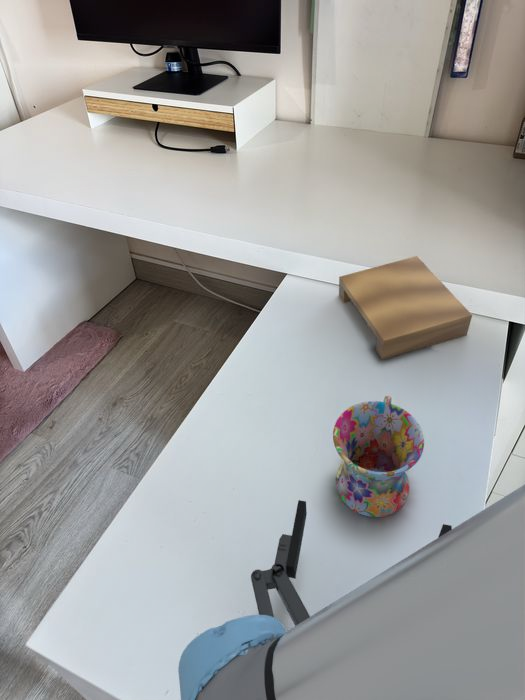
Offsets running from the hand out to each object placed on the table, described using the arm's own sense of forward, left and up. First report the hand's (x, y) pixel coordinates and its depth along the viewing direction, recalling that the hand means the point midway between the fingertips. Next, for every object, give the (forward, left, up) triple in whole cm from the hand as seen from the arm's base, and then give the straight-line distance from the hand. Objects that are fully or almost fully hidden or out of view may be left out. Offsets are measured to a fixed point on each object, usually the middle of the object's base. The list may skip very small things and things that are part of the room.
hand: (371, 518), depth 49 cm
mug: (+8, -5, -8) cm, 12 cm away
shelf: (+33, -21, -8) cm, 40 cm away
